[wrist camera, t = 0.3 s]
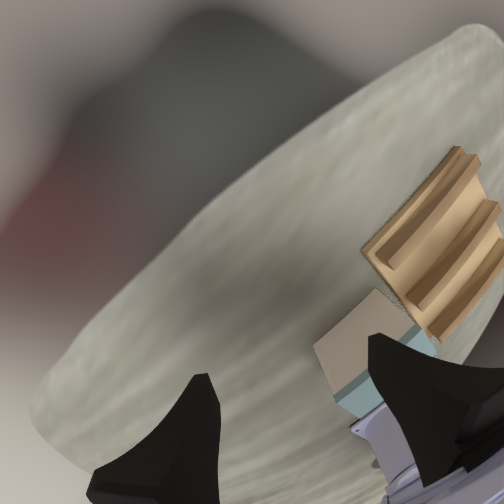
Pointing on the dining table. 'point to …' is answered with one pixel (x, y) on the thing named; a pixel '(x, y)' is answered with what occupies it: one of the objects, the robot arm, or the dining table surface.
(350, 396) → the tall pale blue block
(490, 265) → the rack
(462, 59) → the dining table surface
